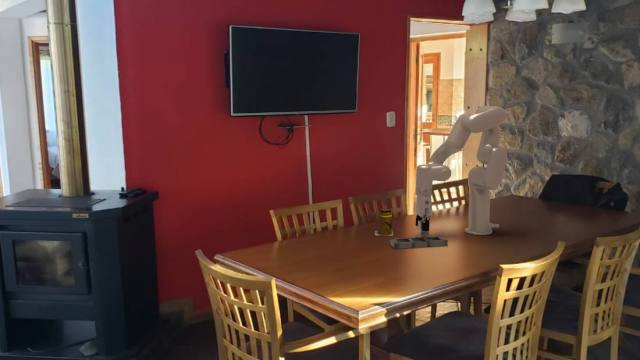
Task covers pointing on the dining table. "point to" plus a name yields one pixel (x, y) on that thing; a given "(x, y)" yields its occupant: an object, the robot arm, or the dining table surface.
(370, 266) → the dining table surface
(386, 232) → the condiment
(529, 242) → the dining table surface
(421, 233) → the block
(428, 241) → the grey flat rectangular frame
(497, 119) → the robot arm
